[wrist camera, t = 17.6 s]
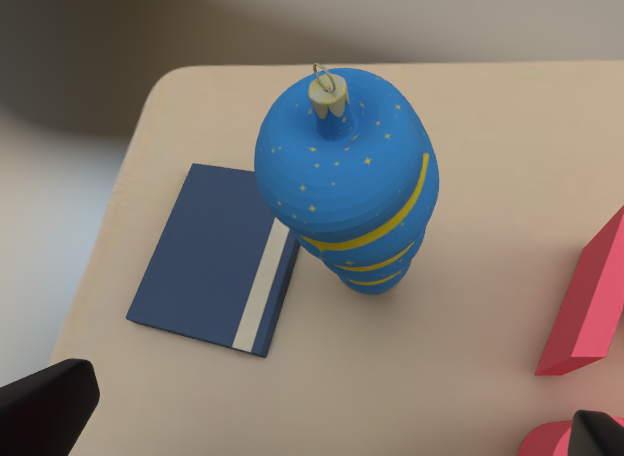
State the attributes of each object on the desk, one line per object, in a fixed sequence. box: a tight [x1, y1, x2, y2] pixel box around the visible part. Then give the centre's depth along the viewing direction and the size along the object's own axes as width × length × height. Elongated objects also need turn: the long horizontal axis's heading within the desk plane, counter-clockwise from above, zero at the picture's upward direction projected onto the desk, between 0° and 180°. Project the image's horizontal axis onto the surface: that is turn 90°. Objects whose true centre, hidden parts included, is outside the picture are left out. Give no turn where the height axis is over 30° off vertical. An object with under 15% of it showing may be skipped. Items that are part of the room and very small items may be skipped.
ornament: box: [254, 63, 439, 294], centre depth 16 cm, size 5×5×15 cm
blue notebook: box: [126, 163, 300, 358], centre depth 25 cm, size 10×8×1 cm
